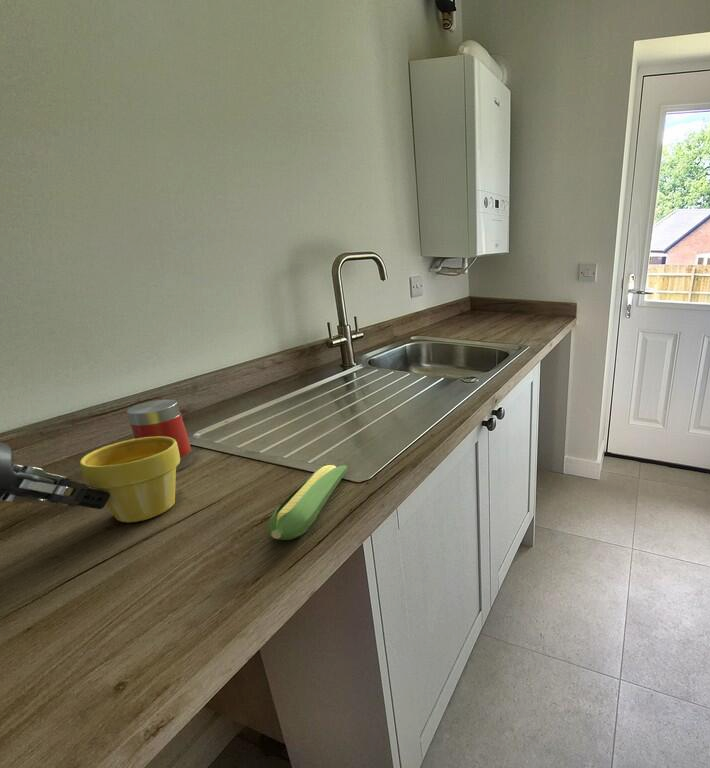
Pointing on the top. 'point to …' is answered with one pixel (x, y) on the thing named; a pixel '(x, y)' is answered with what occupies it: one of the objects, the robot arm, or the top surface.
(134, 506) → the flower pot
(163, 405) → the tin can
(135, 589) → the top surface
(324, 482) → the edible corn
